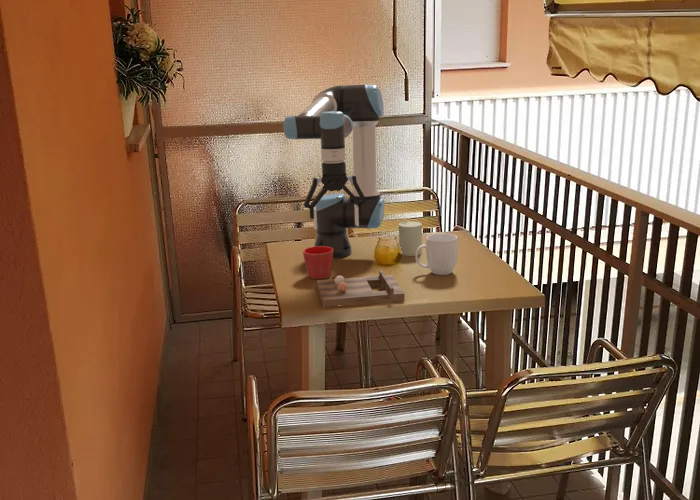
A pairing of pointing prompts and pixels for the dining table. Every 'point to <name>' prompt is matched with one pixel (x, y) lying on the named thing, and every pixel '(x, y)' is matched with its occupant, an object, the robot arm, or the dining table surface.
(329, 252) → the flower pot
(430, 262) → the mug
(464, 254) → the dining table surface
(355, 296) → the board
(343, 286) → the ball terracotta
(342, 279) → the ball white
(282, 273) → the dining table surface
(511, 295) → the dining table surface
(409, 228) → the can
